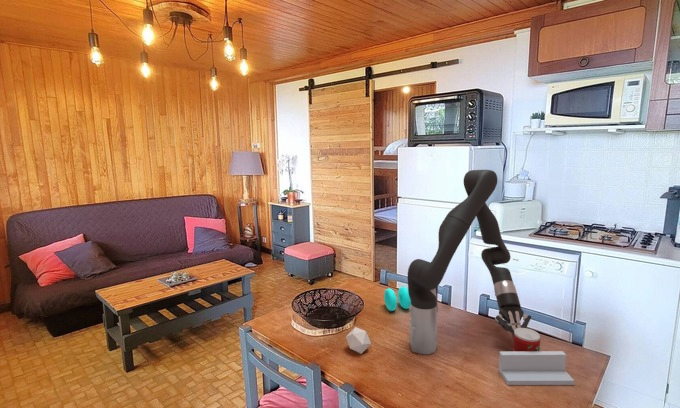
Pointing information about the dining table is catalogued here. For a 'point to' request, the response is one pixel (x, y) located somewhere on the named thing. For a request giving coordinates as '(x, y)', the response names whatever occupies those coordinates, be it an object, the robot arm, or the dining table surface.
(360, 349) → the die
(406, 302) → the pair of cyan discs
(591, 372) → the dining table surface
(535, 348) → the canned food
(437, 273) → the robot arm
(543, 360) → the stop board
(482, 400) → the dining table surface
